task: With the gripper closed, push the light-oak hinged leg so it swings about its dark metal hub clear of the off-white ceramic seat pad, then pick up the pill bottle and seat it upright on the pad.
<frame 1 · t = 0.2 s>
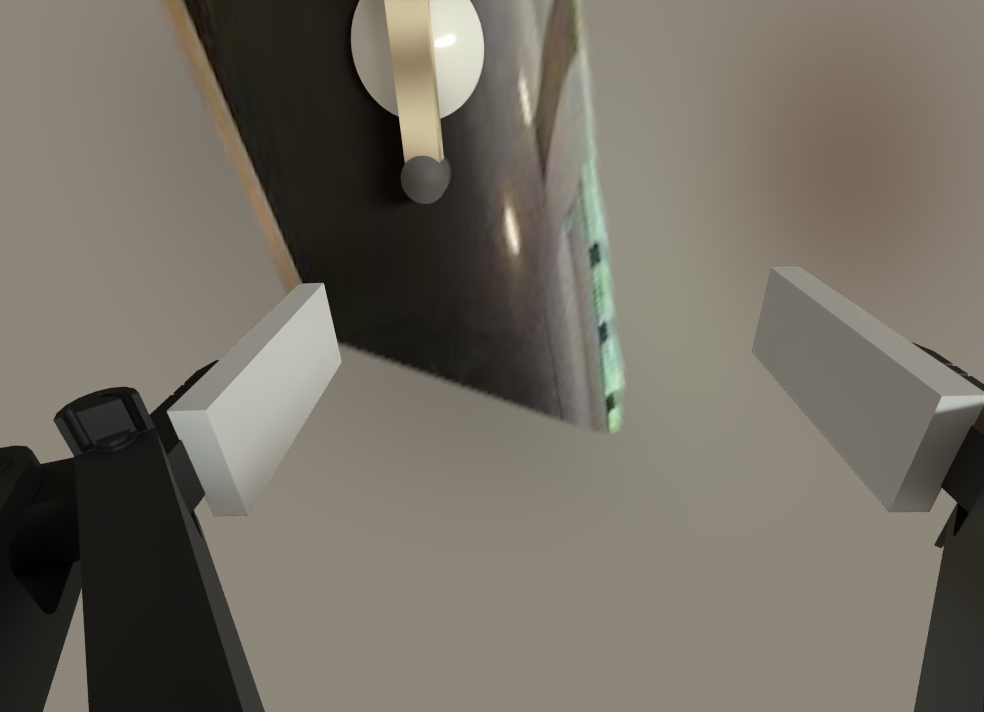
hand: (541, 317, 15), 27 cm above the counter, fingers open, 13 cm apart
hinged leg: (418, 87, 34), point 2 cm above the counter, hinge at 0.0°
seat pad: (419, 49, 35), on the counter
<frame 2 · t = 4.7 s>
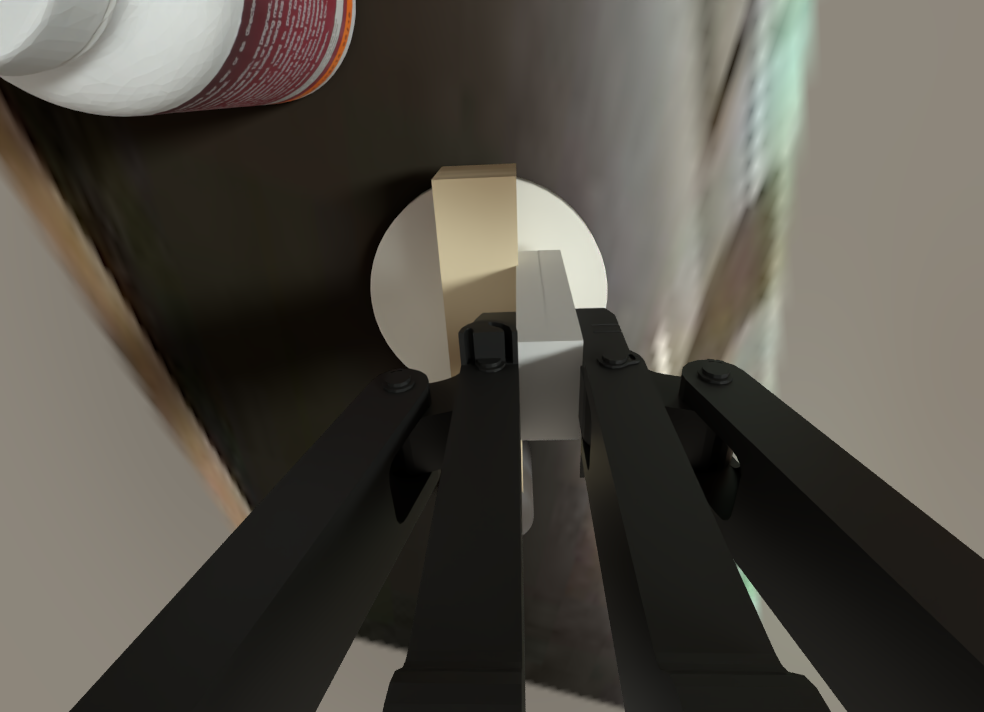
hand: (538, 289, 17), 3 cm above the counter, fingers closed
hinged leg: (489, 369, 19), point 2 cm above the counter, hinge at 0.2°, touching gripper
seat pad: (489, 291, 20), on the counter
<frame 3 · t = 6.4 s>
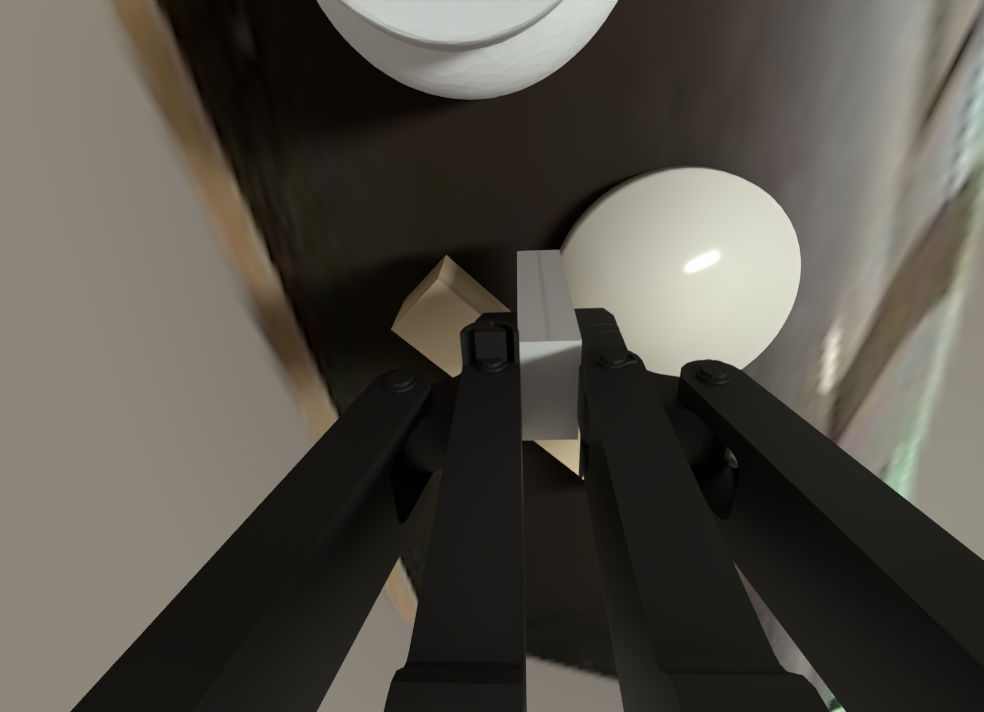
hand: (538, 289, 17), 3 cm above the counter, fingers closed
hinged leg: (565, 404, 20), point 2 cm above the counter, hinge at 44.9°, touching gripper
seat pad: (666, 286, 20), on the counter
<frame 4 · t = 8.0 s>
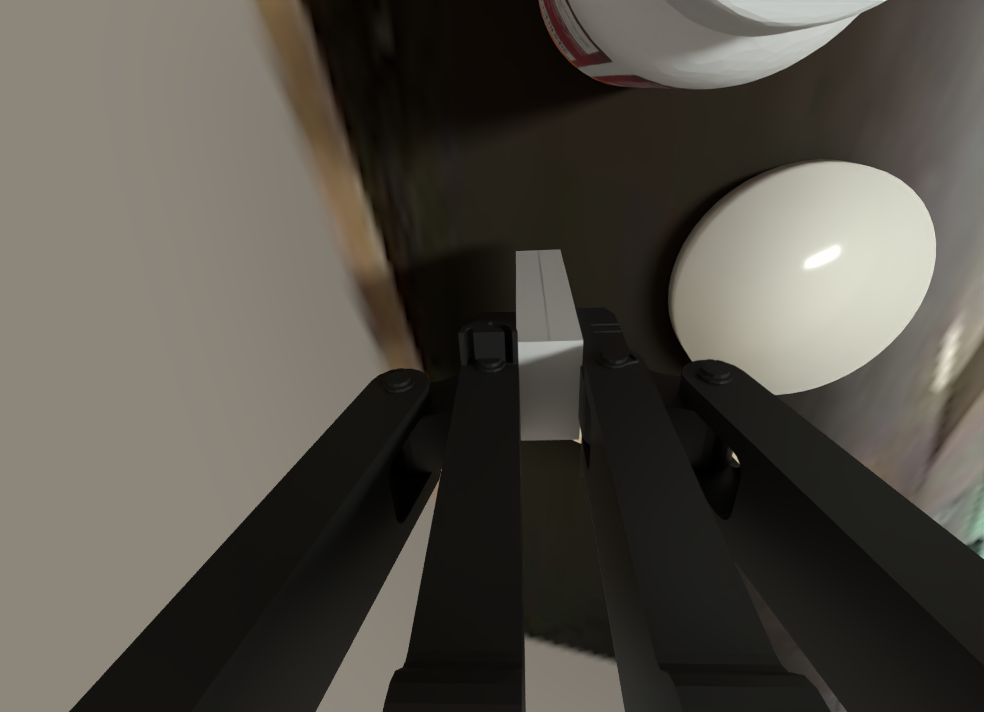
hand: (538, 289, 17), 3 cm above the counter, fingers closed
hinged leg: (658, 426, 20), point 2 cm above the counter, hinge at 59.0°, touching gripper
seat pad: (787, 282, 19), on the counter
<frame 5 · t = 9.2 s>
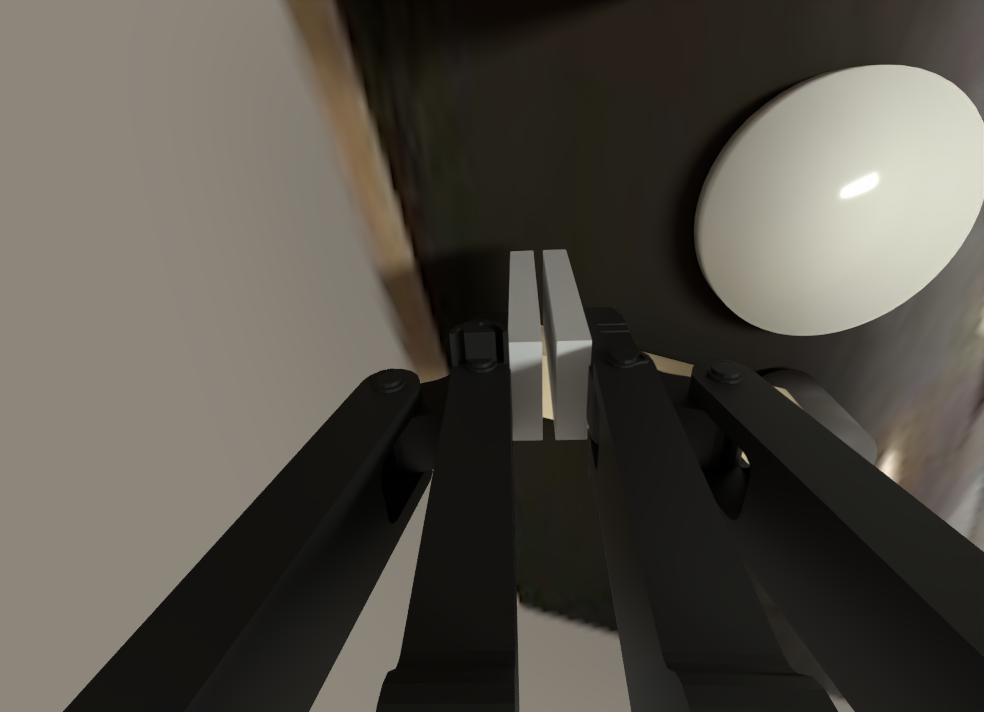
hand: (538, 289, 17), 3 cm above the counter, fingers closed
hinged leg: (666, 394, 19), point 2 cm above the counter, hinge at 72.0°, touching gripper
seat pad: (823, 210, 18), on the counter
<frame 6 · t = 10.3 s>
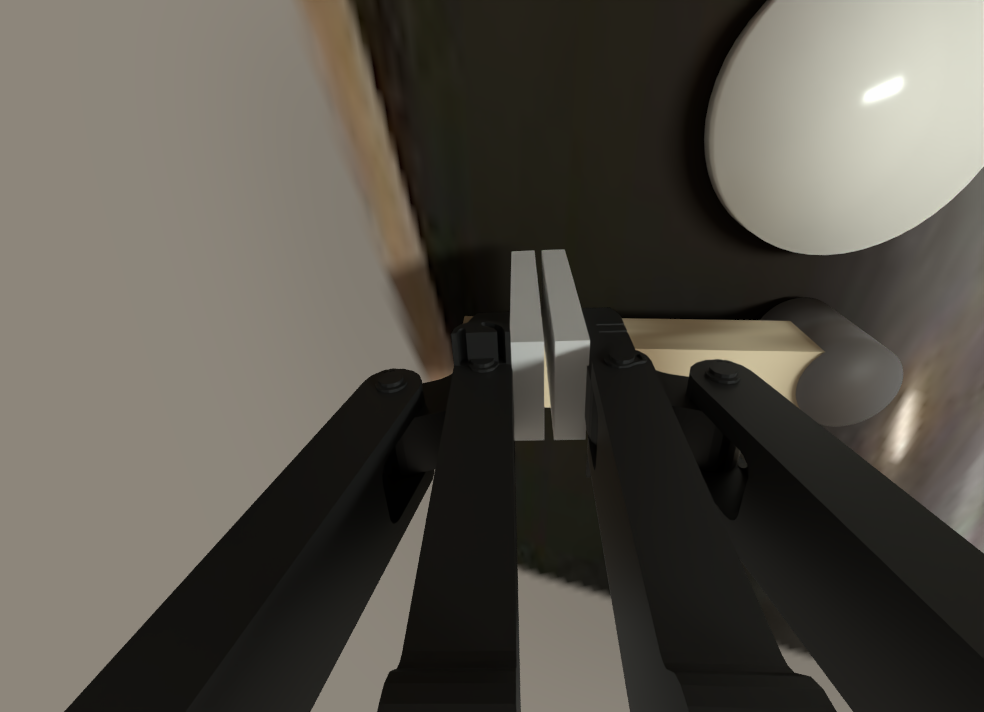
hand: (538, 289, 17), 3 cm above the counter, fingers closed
hinged leg: (660, 355, 19), point 2 cm above the counter, hinge at 87.2°, touching gripper
seat pad: (846, 112, 16), on the counter
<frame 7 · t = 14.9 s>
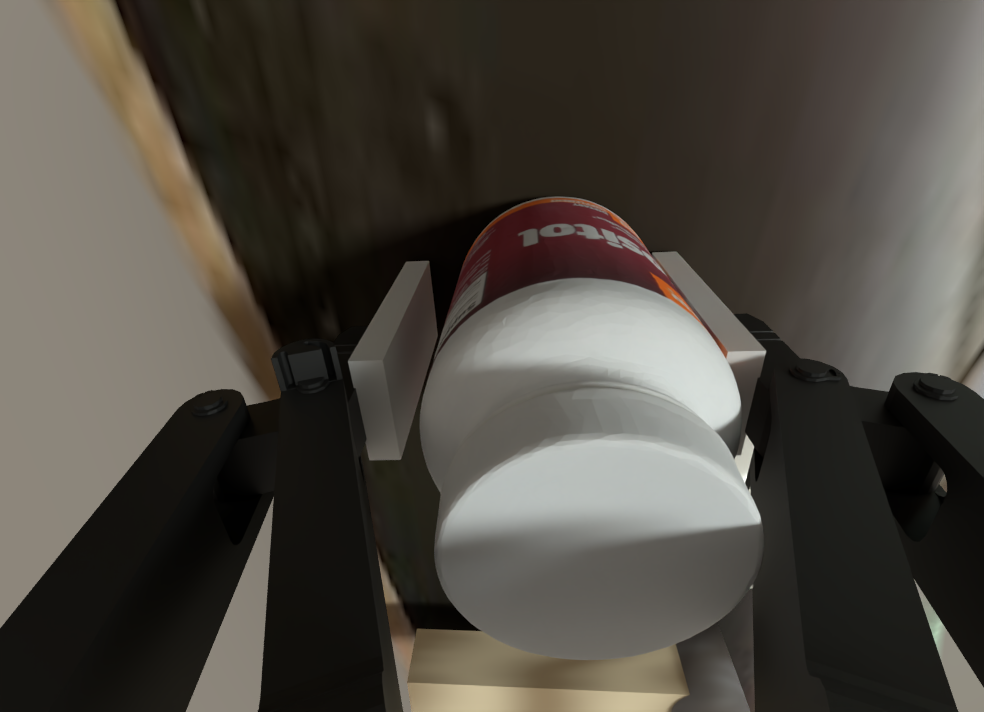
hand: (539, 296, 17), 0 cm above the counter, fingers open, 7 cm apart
pill bottle: (551, 284, 17), on the counter, touching gripper
hinged leg: (572, 663, 23), point 2 cm above the counter, hinge at 87.2°
seat pad: (708, 506, 21), on the counter
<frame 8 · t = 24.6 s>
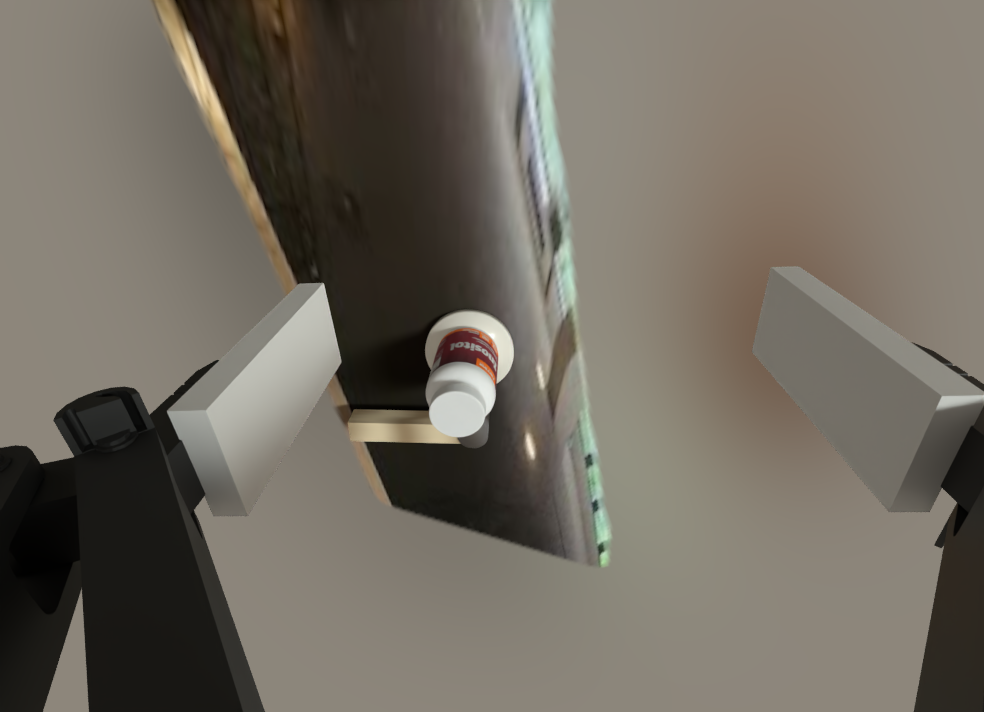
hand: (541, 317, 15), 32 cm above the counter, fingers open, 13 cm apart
pill bottle: (468, 350, 51), point 1 cm above the counter, touching seat pad
hinged leg: (420, 423, 54), point 2 cm above the counter, hinge at 87.2°
seat pad: (470, 348, 52), on the counter
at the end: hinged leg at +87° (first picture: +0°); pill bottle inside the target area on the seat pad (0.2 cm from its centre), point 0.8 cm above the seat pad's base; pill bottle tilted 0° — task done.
